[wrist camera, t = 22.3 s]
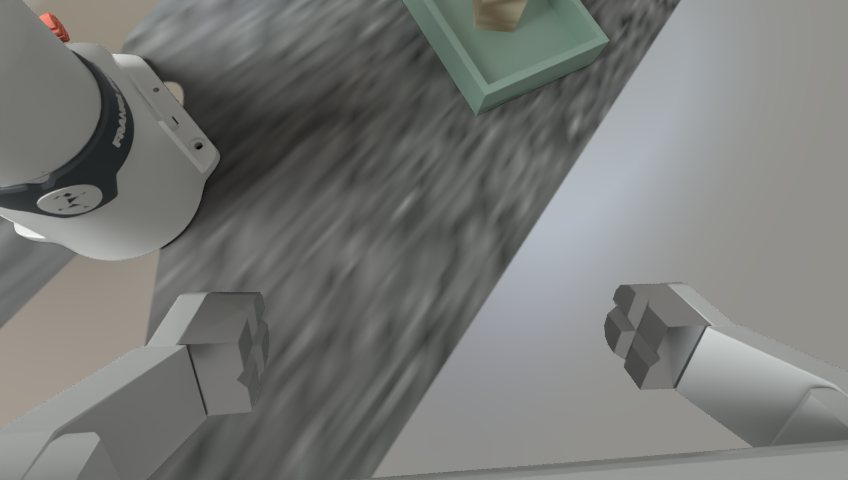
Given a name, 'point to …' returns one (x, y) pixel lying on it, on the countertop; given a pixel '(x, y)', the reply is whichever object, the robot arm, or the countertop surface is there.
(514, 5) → the maple block
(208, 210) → the countertop surface
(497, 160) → the countertop surface
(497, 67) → the tray
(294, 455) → the countertop surface
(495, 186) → the countertop surface
